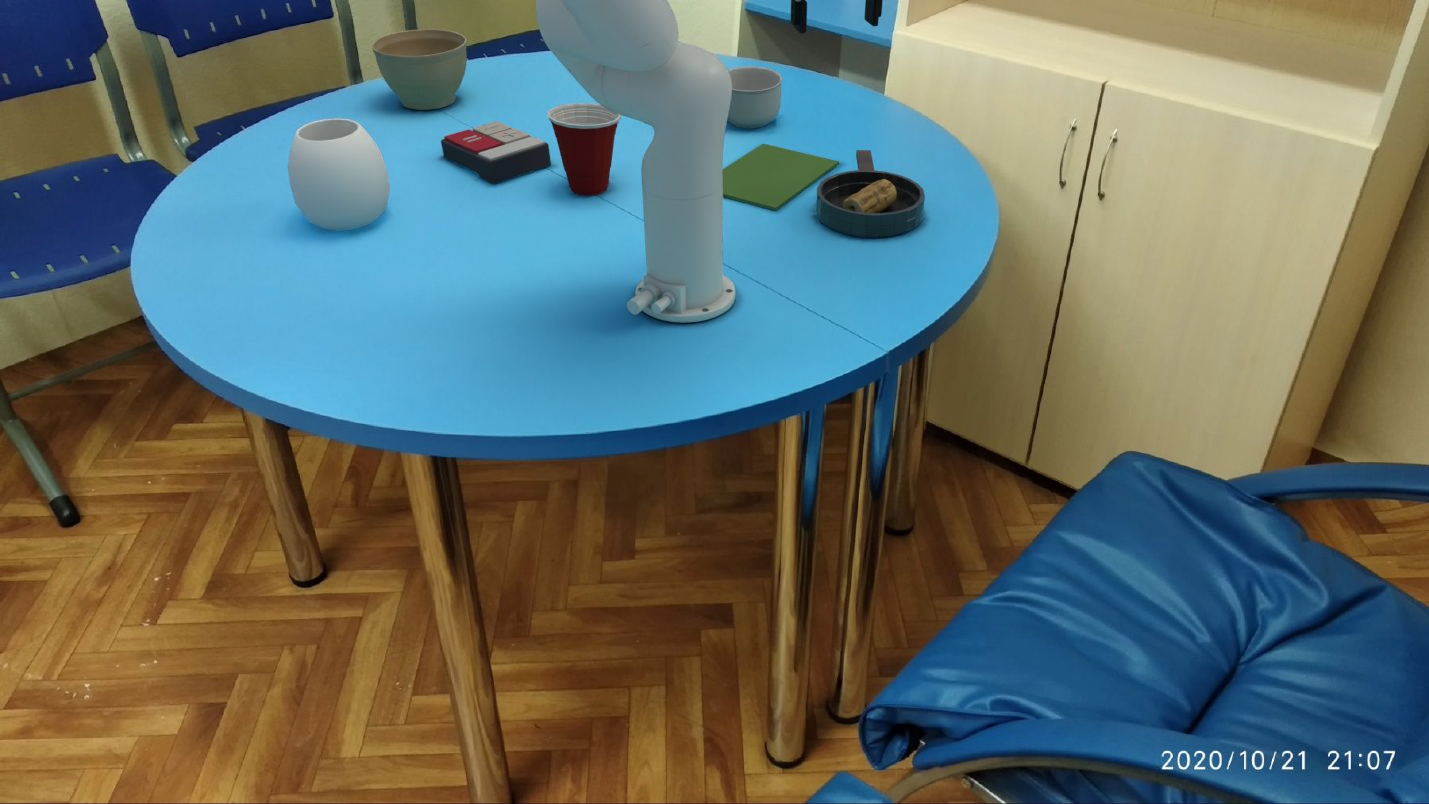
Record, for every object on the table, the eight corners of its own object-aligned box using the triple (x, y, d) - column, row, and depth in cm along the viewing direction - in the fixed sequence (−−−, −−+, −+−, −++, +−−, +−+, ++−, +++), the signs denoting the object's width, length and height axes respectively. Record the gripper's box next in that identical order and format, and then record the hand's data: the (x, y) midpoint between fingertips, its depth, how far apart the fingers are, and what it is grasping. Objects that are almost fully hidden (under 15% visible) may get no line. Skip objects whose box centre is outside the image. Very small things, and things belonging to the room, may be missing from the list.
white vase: (281, 231, 149) (256, 140, 141) (340, 194, 159) (320, 107, 151) (358, 246, 145) (336, 153, 137) (413, 207, 155) (397, 119, 147)
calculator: (497, 118, 174) (549, 138, 164) (501, 143, 176) (552, 165, 167) (438, 135, 168) (488, 157, 159) (443, 161, 170) (493, 184, 161)
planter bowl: (464, 118, 184) (455, 56, 178) (373, 118, 185) (360, 56, 178) (482, 87, 197) (474, 28, 191) (396, 87, 198) (385, 28, 191)
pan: (894, 248, 143) (897, 224, 141) (797, 222, 150) (798, 198, 148) (938, 207, 154) (941, 184, 152) (845, 184, 161) (847, 162, 158)
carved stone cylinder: (862, 226, 148) (864, 200, 146) (838, 217, 151) (840, 191, 148) (897, 208, 153) (900, 182, 151) (874, 199, 155) (876, 174, 153)
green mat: (775, 211, 153) (776, 207, 153) (695, 189, 159) (695, 186, 159) (839, 164, 167) (839, 161, 167) (763, 146, 173) (763, 143, 173)
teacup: (792, 118, 183) (793, 72, 178) (760, 138, 176) (761, 91, 171) (724, 104, 189) (724, 59, 185) (691, 122, 182) (690, 77, 177)
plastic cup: (640, 187, 160) (636, 110, 153) (587, 209, 154) (580, 131, 147) (593, 167, 166) (587, 93, 159) (539, 188, 160) (531, 112, 153)
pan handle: (874, 178, 156) (874, 172, 156) (859, 178, 156) (859, 172, 156) (870, 156, 163) (870, 150, 162) (855, 156, 163) (856, 150, 163)
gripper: (782, -109, 120) (779, 42, 130) (923, -119, 123) (910, 29, 134) (764, -121, 126) (762, 24, 136) (899, -130, 129) (888, 12, 139)
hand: (835, 26), depth 135 cm, fingers open, 9 cm apart
